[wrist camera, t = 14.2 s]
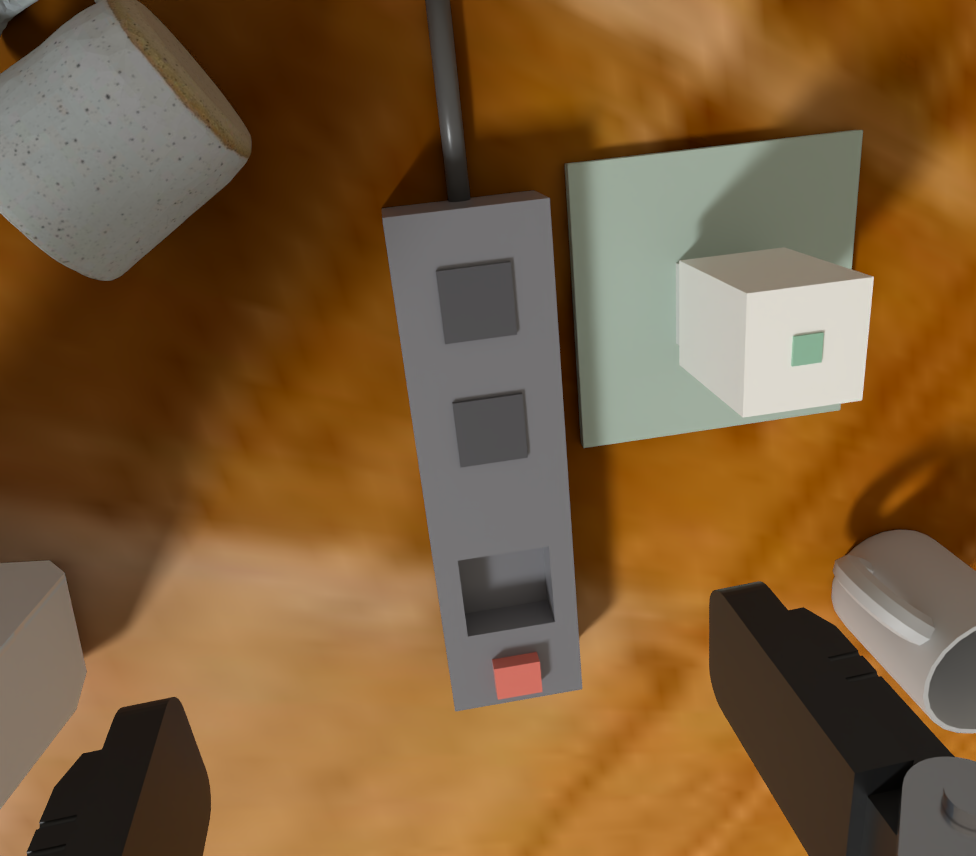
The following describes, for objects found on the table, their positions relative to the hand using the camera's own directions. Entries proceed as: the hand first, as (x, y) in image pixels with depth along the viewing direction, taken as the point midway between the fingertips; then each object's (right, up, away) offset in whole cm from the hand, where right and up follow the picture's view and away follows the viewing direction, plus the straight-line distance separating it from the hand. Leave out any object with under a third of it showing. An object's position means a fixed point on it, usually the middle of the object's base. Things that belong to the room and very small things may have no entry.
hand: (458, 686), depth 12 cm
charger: (+12, +10, +26) cm, 31 cm away
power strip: (0, +6, +27) cm, 28 cm away
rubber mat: (+12, +10, +27) cm, 31 cm away
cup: (+23, -5, +35) cm, 42 cm away
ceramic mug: (-15, +17, +21) cm, 31 cm away
